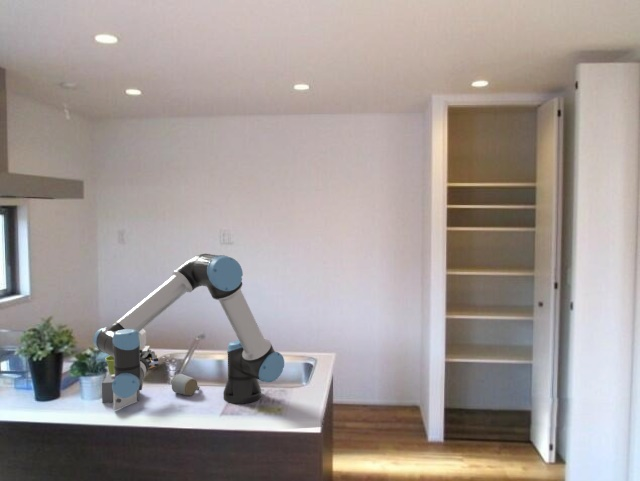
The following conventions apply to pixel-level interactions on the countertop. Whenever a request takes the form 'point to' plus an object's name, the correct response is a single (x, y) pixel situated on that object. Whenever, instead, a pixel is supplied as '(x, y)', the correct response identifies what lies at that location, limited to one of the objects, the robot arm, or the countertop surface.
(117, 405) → the side door
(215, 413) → the countertop surface
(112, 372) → the plant pot
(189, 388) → the ceramic mug
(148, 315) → the robot arm
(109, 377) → the box
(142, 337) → the milk carton
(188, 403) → the countertop surface
